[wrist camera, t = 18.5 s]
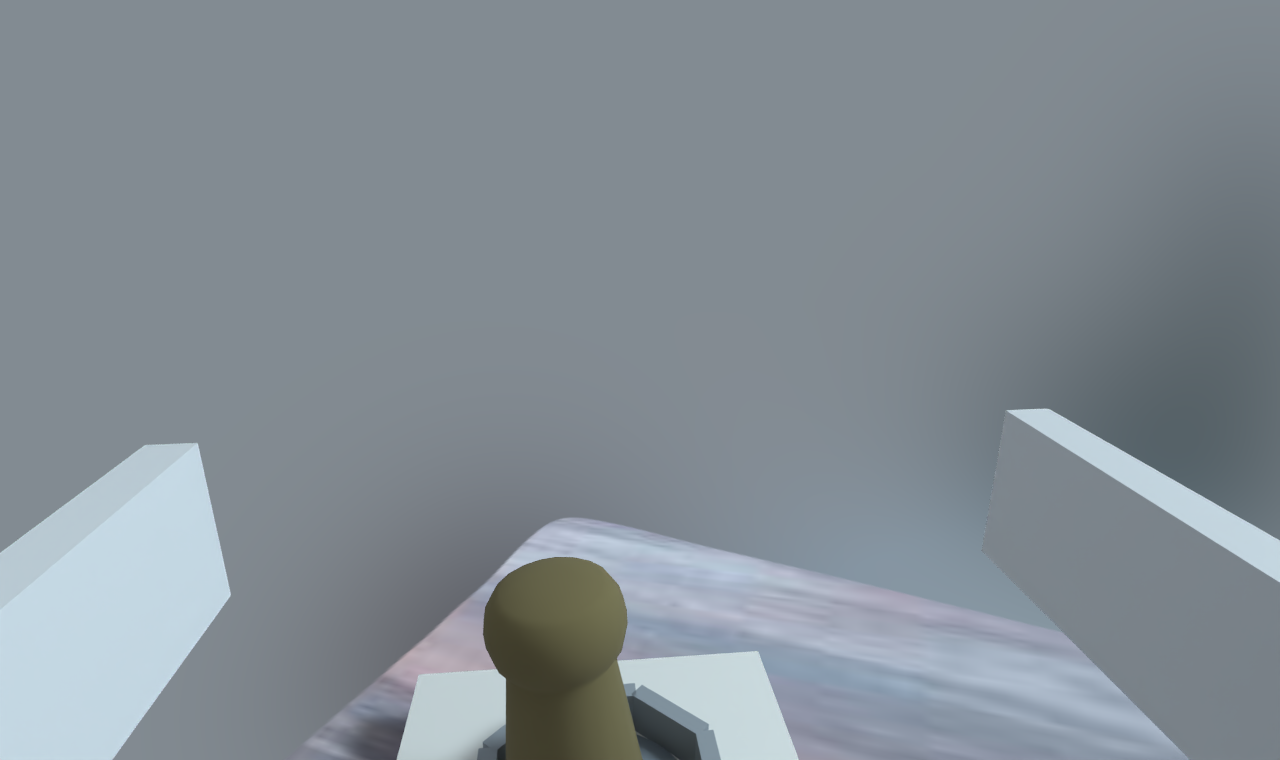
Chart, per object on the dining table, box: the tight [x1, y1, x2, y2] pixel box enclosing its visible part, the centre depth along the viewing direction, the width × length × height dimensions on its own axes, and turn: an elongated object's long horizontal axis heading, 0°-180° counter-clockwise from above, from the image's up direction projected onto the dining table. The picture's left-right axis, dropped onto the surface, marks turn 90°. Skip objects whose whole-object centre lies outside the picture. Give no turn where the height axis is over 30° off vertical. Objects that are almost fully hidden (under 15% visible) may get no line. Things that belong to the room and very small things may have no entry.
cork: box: [483, 557, 643, 760], centre depth 28 cm, size 6×6×11 cm
